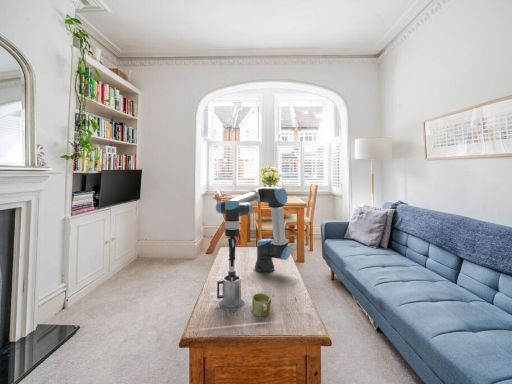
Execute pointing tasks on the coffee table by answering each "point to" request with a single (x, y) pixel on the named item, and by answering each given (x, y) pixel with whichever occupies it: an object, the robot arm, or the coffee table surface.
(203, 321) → the coffee table surface
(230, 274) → the plunger
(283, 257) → the robot arm
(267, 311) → the mug
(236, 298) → the grey french press
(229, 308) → the coaster
